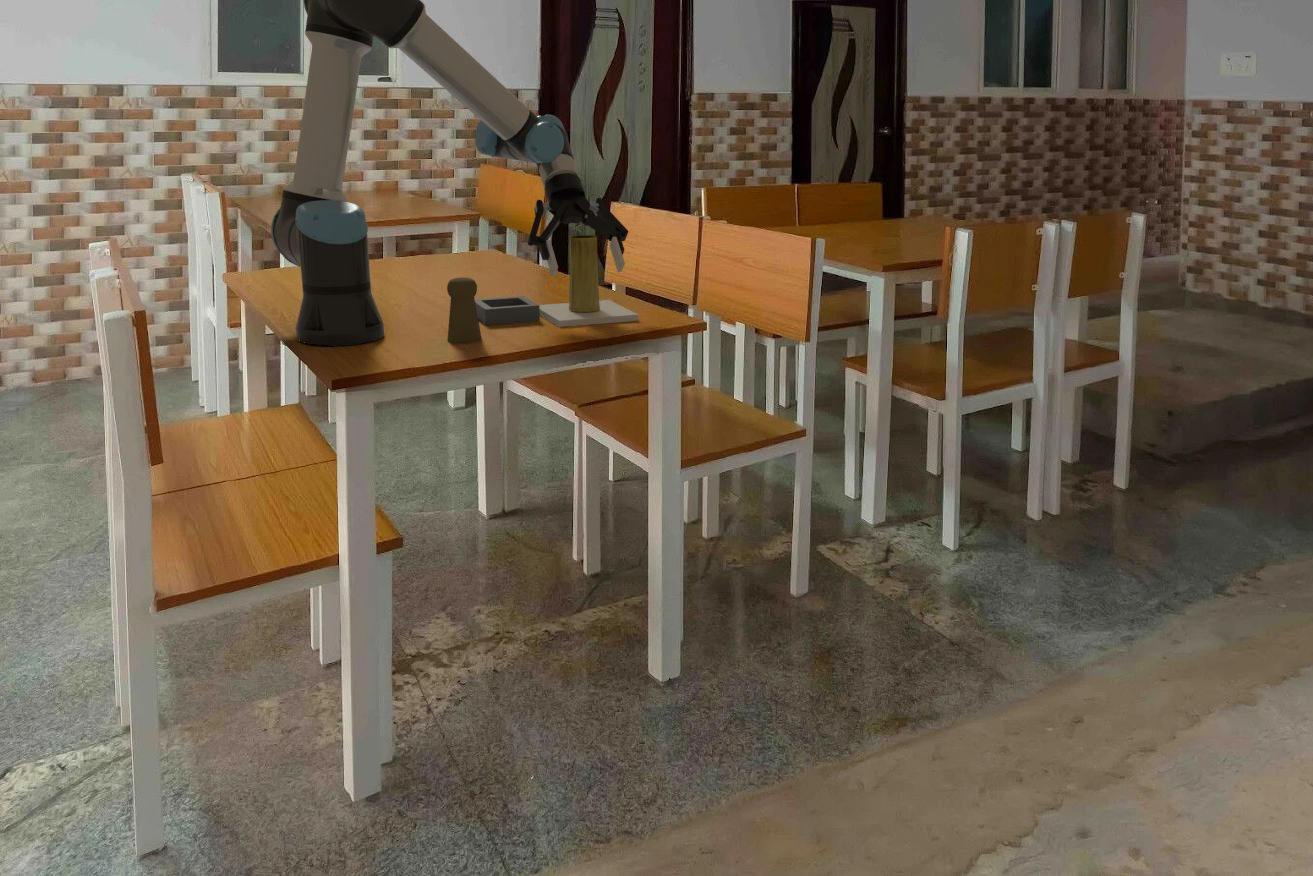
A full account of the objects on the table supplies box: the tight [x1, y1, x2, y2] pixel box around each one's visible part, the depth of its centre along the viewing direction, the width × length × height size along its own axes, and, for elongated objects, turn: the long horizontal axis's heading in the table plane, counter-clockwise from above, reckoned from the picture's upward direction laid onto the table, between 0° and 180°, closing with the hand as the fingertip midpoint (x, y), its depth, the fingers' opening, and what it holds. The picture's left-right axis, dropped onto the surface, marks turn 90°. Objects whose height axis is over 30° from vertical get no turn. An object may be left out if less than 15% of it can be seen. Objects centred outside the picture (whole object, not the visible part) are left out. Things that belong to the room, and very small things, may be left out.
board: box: [538, 299, 639, 328], centre depth 218 cm, size 16×16×1 cm
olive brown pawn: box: [446, 276, 483, 345], centre depth 195 cm, size 6×6×11 cm
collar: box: [475, 295, 541, 326], centre depth 215 cm, size 11×11×3 cm
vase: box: [568, 234, 600, 312], centre depth 215 cm, size 6×6×14 cm
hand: (588, 270), depth 213 cm, fingers open, 13 cm apart
